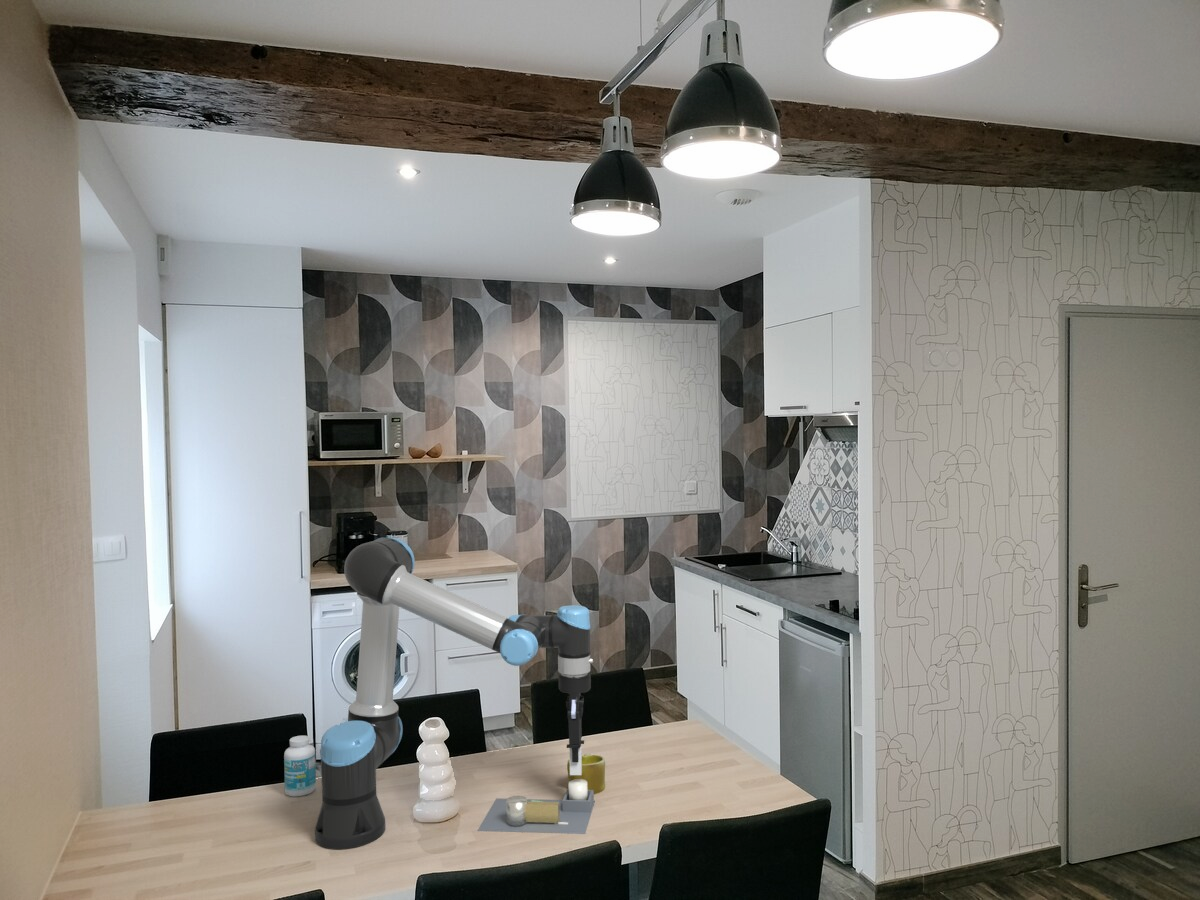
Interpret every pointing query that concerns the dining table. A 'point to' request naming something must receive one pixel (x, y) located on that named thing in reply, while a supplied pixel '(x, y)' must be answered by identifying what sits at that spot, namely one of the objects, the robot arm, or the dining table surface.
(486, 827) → the board
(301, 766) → the pill bottle
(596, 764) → the mug
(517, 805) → the grey and tan piece
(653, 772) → the dining table surface
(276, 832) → the dining table surface
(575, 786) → the button
